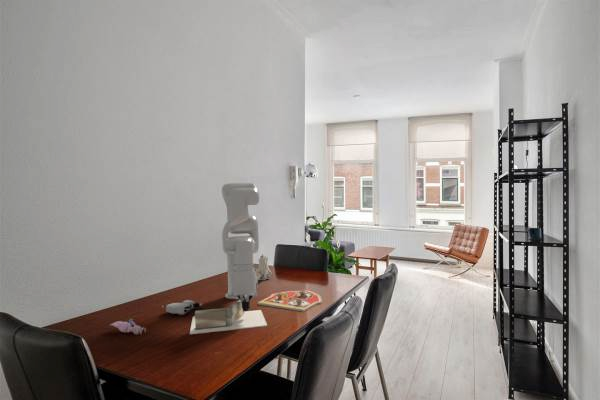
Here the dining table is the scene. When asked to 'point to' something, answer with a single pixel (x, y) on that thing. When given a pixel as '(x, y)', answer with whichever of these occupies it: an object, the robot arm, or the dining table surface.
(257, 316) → the card
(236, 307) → the fence panel
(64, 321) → the dining table surface
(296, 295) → the knob puzzle
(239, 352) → the dining table surface
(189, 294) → the dining table surface
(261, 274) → the chinaware
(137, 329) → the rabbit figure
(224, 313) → the fence base
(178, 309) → the robot toy
